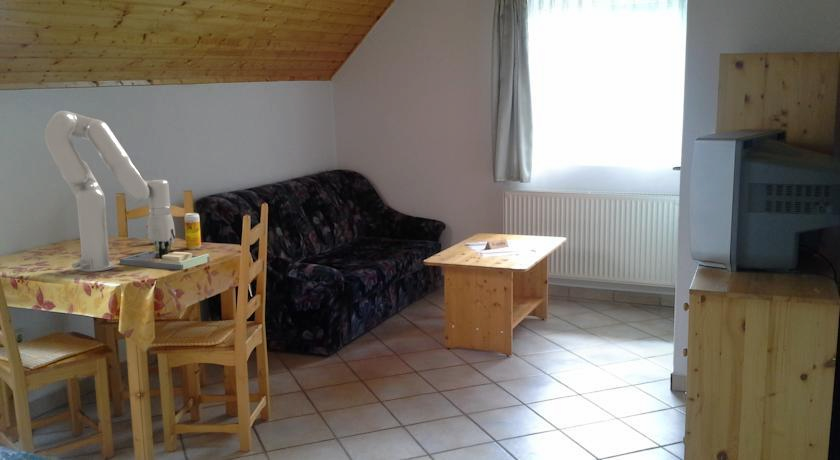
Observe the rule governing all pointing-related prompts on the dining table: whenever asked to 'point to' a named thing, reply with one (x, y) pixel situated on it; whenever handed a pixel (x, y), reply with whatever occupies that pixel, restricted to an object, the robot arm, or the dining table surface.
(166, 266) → the grey shallow tray
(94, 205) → the robot arm
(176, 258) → the birch block
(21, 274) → the dining table surface
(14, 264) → the dining table surface
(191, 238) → the beer can
